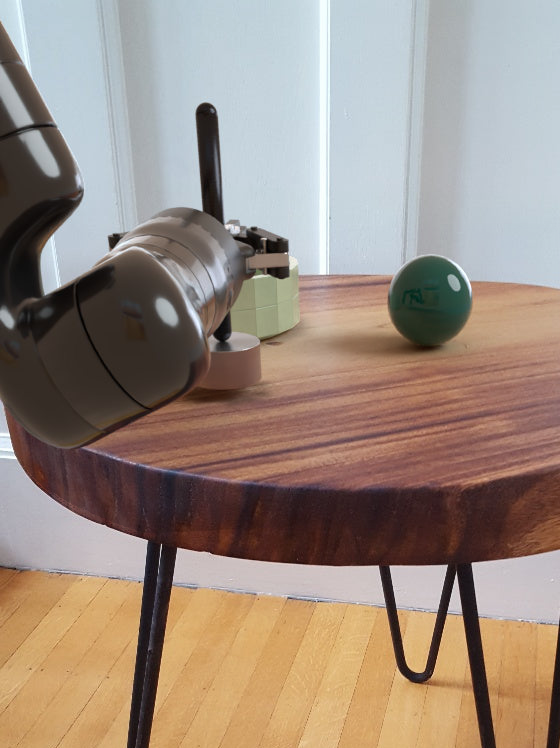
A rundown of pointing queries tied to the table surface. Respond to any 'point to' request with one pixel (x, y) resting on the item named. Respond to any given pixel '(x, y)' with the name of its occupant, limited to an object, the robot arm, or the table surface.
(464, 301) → the sphere
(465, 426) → the table surface
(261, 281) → the bowl
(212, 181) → the joystick
